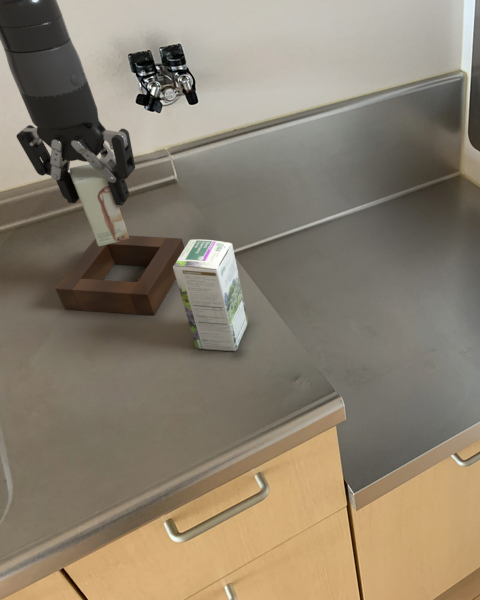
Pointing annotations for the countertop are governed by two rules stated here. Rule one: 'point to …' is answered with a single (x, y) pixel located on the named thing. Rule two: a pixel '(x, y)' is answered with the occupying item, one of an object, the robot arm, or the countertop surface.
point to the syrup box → (212, 294)
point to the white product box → (99, 205)
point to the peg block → (119, 294)
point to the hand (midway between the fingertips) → (98, 200)
